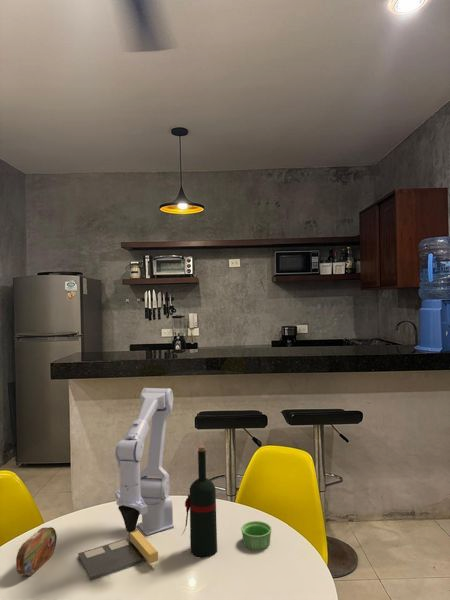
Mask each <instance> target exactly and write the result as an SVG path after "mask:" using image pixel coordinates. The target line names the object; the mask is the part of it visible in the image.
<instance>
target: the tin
mask: <svg viewBox="0 0 450 600" xmlns="http://www.w3.org/2000/svg"><path fill="white" fill-rule="evenodd" d="M57 540H58V539H57V532H56V529H55V528H54V527H52V526H49V527H42V528H40V529H38V530H37V531H36V532H34V534H32V535H31V536H30V537H29V538H28V539H26V540H25V541H24V542H23V543H22V544H21V546H20V547H19V549H18V551H17V553H16V558H15V559H16V560H15V561H16V562H15V564H16V571H17V573H18V574H19V575H20V576H28V577H30V576H33V575H34V574H35V573H36V572H37V571H38V570H40V568H41V567H42V566H43V565H44V564H45V563H46V562H47V561H48V560H49V559H50V558H51V557H52V556H53V554H54V553H55V549H56V546H57Z"/></svg>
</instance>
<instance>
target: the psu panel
mask: <svg viewBox="0 0 450 600" xmlns="http://www.w3.org/2000/svg"><path fill="white" fill-rule="evenodd" d="M77 557H78V560H79V561H80V563H81V565H82V568H83V569H84V571H85V572H86V575H87V577H88V578H89V580H90V581H91V582H92V581H94V580H97V579H100V578H102V577H106V576H109V575H111V574H114V573H117V572H120V571H123V570H125V569H129V568H131V567H135V566H136V565H139V564H143V563H146V562H148V561H147V560H146V558H145V557H144V556H143V555H142V554H141V553H140V551H139V550H138V549H137V548H136V547H135V545H134V544H133V543H132V542H131V541H130V540H129V539H128V537H127V538H124V539H120V540H117V541H113V542H111V543H106V544H103V545H101V546H97V547H94V548H91V549H88V550H85V551H81V552H78V554H77Z"/></svg>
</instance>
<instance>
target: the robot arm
mask: <svg viewBox="0 0 450 600" xmlns="http://www.w3.org/2000/svg"><path fill="white" fill-rule="evenodd" d="M139 400H140V404H141V407H140V409H139V412H138V415H137V418H136V419H134V420H132V421H131V424H130V425H129V426H128V429H127V432H126V433H125V436H124V438H123V439H121V440H120V441H119V442H117V444H116V447H115V452H114V455H115V460H116V465H117V467H118V469H119V489H118V490H115V491H114V499H117V501H116V505H117V506H118V507H117V509H118V511H119V512H120V514H121V516H122V519H123V522H124V526H125V530H126V532H127V533H128V532H129V533H130V532H133V531H135V529H136V528H137V526H138V527H139V529H140V530H141V531H142V532H143V533H144V534H145V535H146V536H149V535H153V534H155V533H159V532H162V531H165V530H169V529H171V528H174V527H175V525H174V520H173V519H174V518H173V517H174V515H173V513H174V511H173V502H172V499H171V497H170V496H169V494H170V488H171V487H170V485H171V484H170V474H169V473H168V472H167V470H165V469H164V468H163V460H164V459H163V458H164V448H165V441H166V440H165V438H166V428H167V420H168V416H169V415H172V413H173V405H174V394H173V389H171V388H169V387H168V388H158V387H155V388H154V387H144V388H143V389H142V390H141V392H140V399H139ZM150 421H151V428H150V425H149V423H150ZM149 431H150V436H149V445H148V454H147V463H146V464H147V465H146V467H145V468H144V469H143V470H141V460H142V457H143V455H144V454H143V453H144V450H145V449H144V448H145V441H146V438H147V436H148V434H149ZM157 477H159V478H157ZM140 515H141V522H138V521H139V518H140Z"/></svg>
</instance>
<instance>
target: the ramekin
mask: <svg viewBox="0 0 450 600" xmlns="http://www.w3.org/2000/svg"><path fill="white" fill-rule="evenodd" d="M240 531H241V533H242V542H243V545H244V546H245V547H246V548H247V549H250V550H254V551H259V550H264V549H266V548H268V547H269V546H270V544H271V537H272V536H271V535H272V534H271V533H272V526H271V525H270V524H268V523H267V522H264V521H260V520H250V521H248V522H244V524H242V526H241V528H240Z"/></svg>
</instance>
